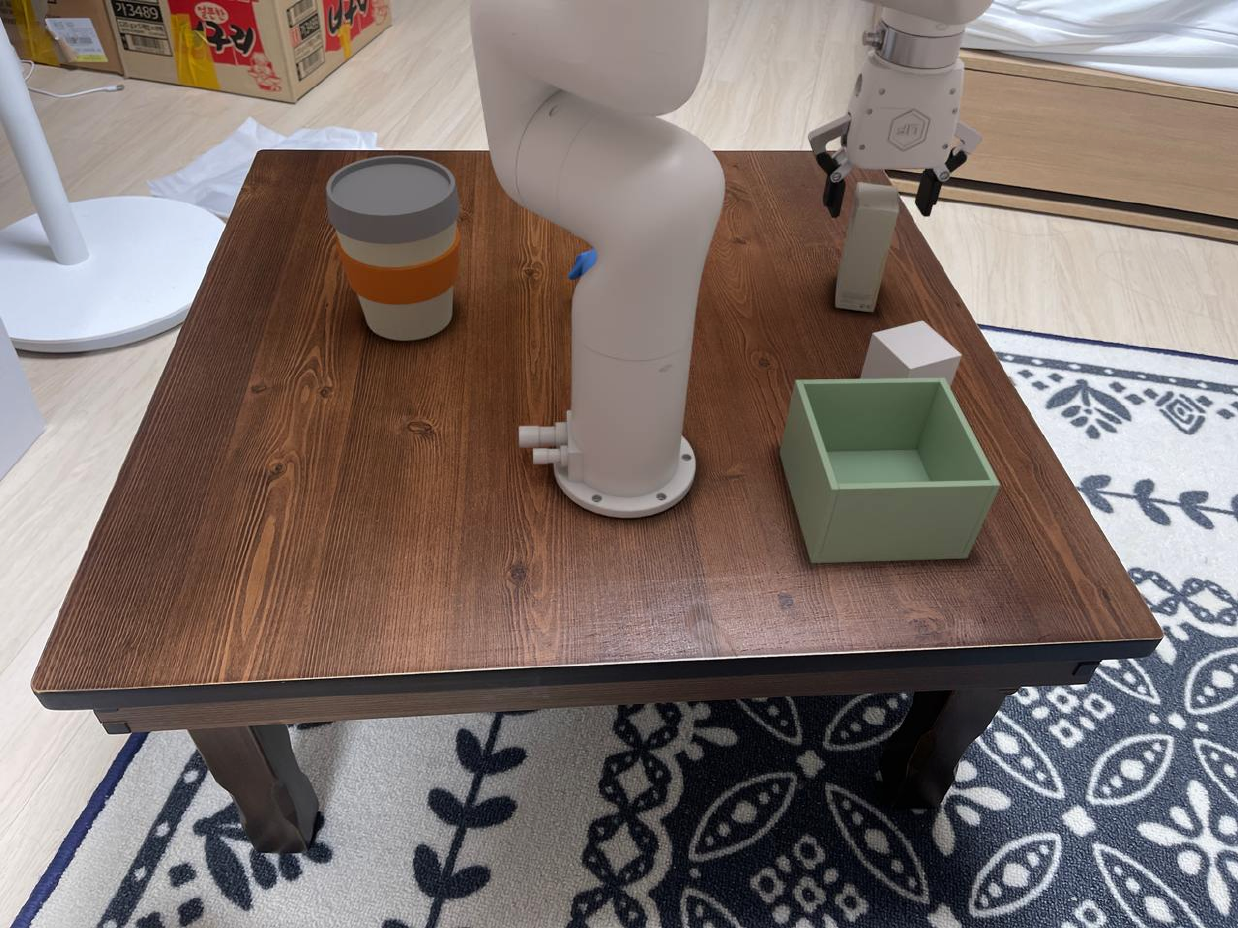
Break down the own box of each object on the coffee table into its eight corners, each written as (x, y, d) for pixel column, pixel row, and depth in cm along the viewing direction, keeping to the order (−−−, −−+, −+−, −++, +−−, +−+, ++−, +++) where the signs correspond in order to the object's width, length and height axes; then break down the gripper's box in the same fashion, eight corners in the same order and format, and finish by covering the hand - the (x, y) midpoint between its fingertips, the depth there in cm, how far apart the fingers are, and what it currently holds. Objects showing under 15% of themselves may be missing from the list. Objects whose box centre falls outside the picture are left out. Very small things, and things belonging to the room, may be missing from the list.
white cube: (907, 368, 96) (923, 320, 91) (944, 404, 92) (962, 354, 88) (858, 382, 94) (872, 332, 90) (894, 418, 90) (910, 368, 86)
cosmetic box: (873, 314, 102) (900, 214, 94) (832, 308, 103) (856, 208, 95) (873, 284, 107) (900, 185, 99) (834, 278, 107) (857, 180, 99)
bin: (810, 563, 76) (831, 489, 70) (779, 453, 86) (795, 379, 80) (967, 558, 77) (1000, 485, 71) (918, 450, 87) (944, 377, 81)
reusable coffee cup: (324, 314, 98) (296, 182, 88) (419, 270, 105) (403, 142, 95) (398, 367, 92) (377, 232, 82) (493, 316, 99) (485, 185, 89)
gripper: (835, 59, 83) (803, 230, 95) (1024, 59, 84) (968, 228, 96) (816, 28, 88) (788, 194, 100) (994, 28, 89) (945, 192, 101)
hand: (877, 210), depth 98 cm, fingers open, 9 cm apart
